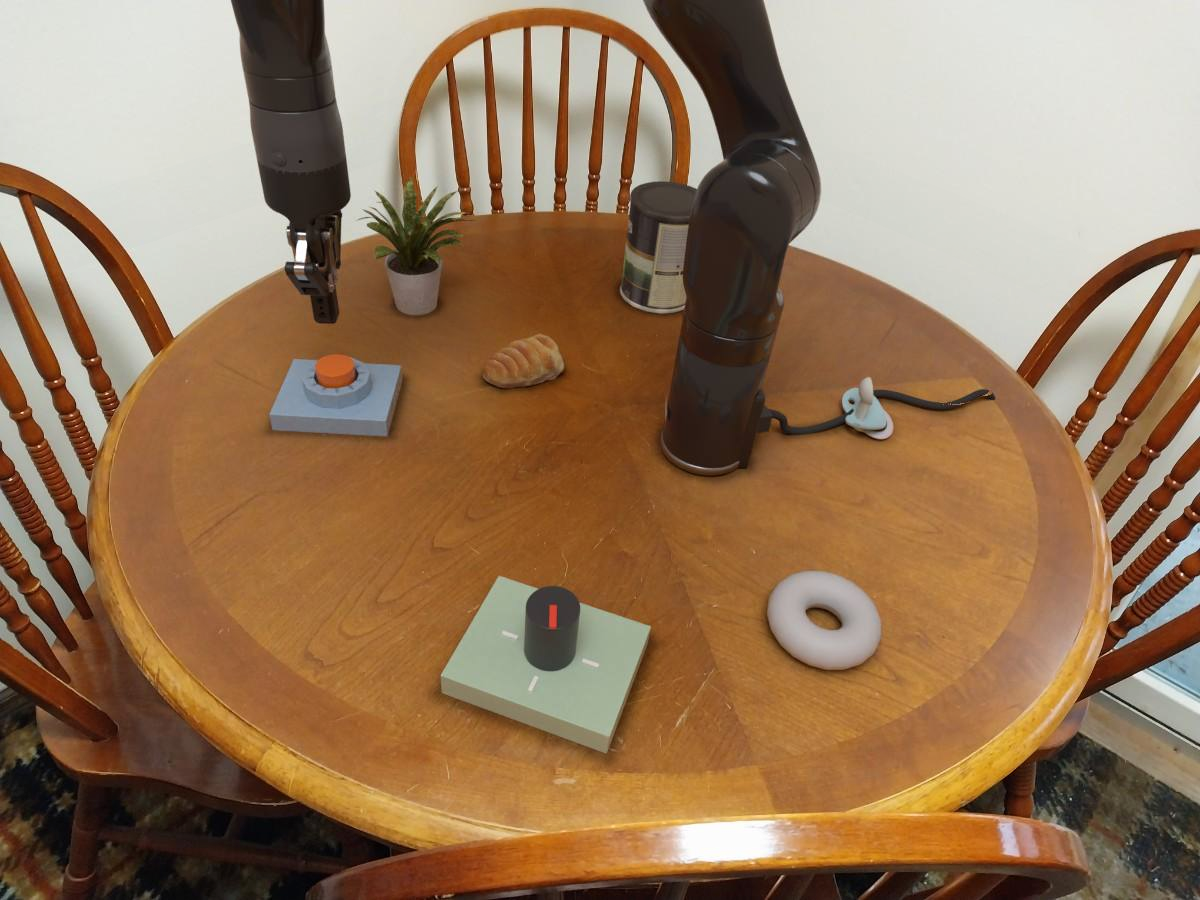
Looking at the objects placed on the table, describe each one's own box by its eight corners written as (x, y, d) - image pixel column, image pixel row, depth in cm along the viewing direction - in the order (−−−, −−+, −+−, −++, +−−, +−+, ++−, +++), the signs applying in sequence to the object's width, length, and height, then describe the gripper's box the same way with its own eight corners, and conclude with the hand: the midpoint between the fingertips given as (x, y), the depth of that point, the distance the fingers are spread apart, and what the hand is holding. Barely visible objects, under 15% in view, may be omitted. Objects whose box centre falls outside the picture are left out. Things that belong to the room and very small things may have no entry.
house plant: (420, 354, 102) (412, 229, 91) (333, 316, 106) (315, 192, 95) (490, 304, 111) (490, 186, 101) (407, 271, 116) (399, 154, 105)
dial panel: (647, 643, 73) (651, 624, 71) (606, 754, 65) (609, 735, 63) (498, 593, 76) (498, 574, 74) (441, 693, 68) (440, 674, 66)
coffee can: (610, 303, 114) (620, 205, 105) (631, 269, 122) (643, 174, 112) (683, 321, 112) (701, 223, 103) (701, 285, 120) (718, 190, 110)
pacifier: (885, 408, 102) (836, 401, 102) (903, 366, 98) (852, 358, 98) (896, 448, 96) (844, 440, 96) (916, 405, 92) (862, 397, 92)
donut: (839, 700, 70) (895, 629, 76) (851, 677, 68) (907, 606, 74) (741, 630, 75) (800, 568, 81) (748, 606, 73) (809, 544, 79)
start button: (359, 368, 93) (357, 355, 92) (351, 390, 90) (349, 377, 89) (322, 366, 92) (319, 352, 91) (313, 388, 89) (310, 374, 88)
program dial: (525, 627, 70) (527, 582, 66) (575, 629, 70) (580, 584, 66) (522, 670, 67) (524, 625, 63) (575, 672, 67) (580, 627, 63)
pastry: (502, 401, 96) (502, 374, 94) (470, 371, 100) (470, 345, 98) (568, 375, 101) (570, 348, 99) (535, 348, 105) (536, 321, 102)
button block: (402, 380, 98) (400, 352, 95) (387, 436, 90) (384, 407, 87) (296, 374, 97) (291, 345, 94) (272, 430, 89) (265, 400, 87)
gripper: (328, 185, 70) (352, 358, 81) (358, 126, 80) (376, 288, 91) (234, 179, 69) (272, 355, 80) (277, 120, 79) (305, 284, 90)
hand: (327, 319), depth 86 cm, fingers closed
